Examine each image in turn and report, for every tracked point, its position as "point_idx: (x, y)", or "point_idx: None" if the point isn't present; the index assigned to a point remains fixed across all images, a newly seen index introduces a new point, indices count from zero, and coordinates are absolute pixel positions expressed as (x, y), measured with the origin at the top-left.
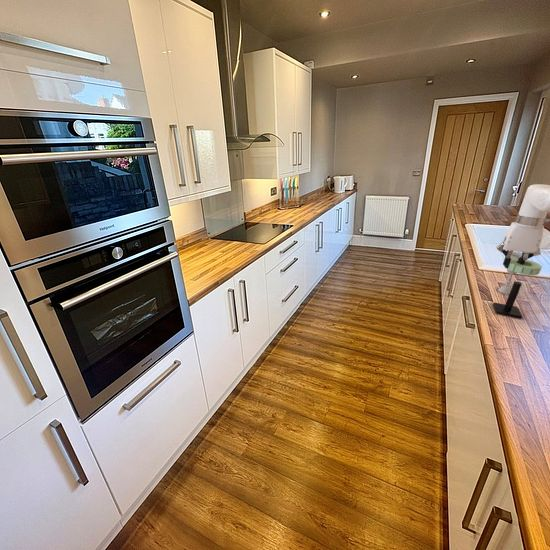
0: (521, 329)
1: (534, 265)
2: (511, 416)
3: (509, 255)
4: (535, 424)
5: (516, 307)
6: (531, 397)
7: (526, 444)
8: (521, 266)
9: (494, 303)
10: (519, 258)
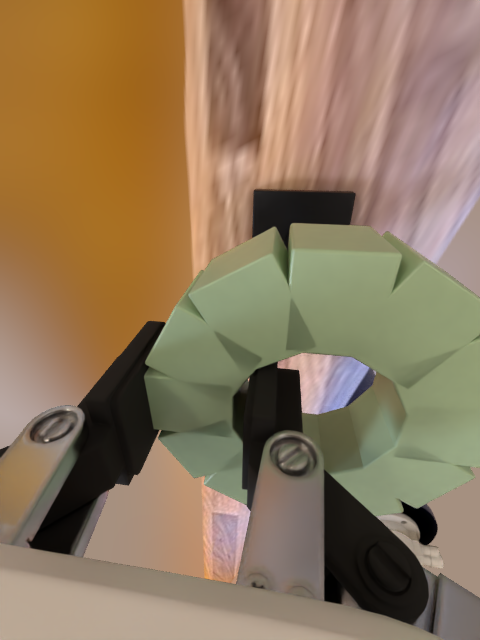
0: (306, 356)
1: (408, 454)
2: (212, 550)
3: (78, 522)
4: (237, 555)
5: (348, 205)
6: (246, 528)
7: (220, 570)
8: (246, 496)
9: (254, 202)
10: (244, 436)
